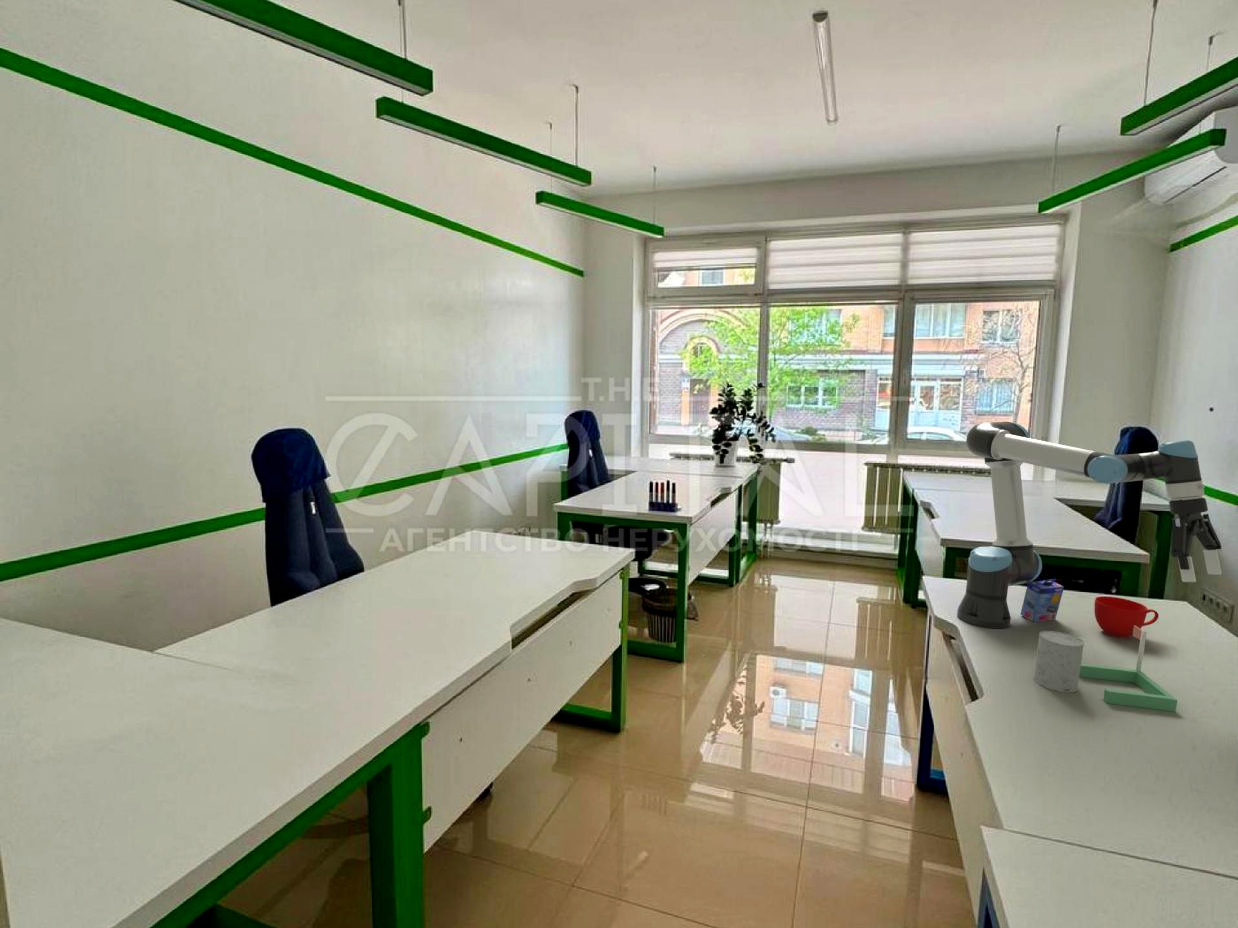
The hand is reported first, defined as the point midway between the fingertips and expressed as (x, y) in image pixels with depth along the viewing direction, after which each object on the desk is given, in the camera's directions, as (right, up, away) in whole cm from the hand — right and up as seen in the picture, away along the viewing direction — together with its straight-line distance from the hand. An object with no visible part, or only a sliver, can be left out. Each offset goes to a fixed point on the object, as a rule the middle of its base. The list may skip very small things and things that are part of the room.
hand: (1202, 578), depth 170 cm
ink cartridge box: (-15, -21, +43) cm, 50 cm away
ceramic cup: (+3, -23, +30) cm, 39 cm away
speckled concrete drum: (-42, -27, -4) cm, 50 cm away
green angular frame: (-27, -27, -6) cm, 38 cm away
